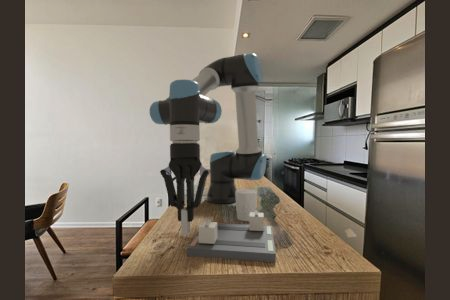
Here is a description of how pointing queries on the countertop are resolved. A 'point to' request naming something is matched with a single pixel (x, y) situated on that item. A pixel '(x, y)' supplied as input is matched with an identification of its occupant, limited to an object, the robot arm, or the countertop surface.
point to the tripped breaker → (208, 232)
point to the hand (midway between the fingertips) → (185, 233)
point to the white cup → (245, 203)
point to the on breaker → (256, 221)
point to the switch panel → (236, 244)
